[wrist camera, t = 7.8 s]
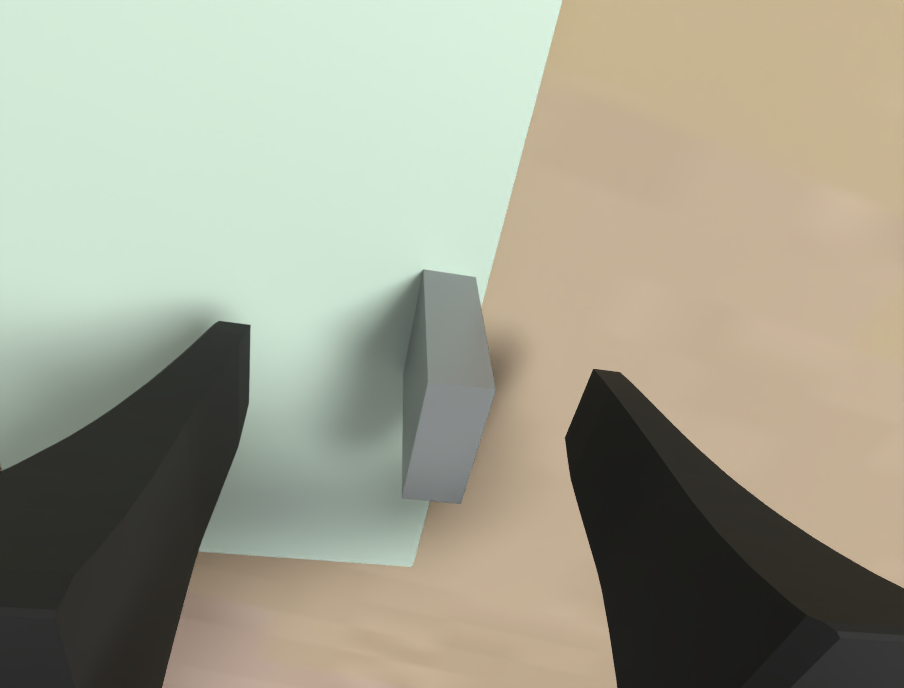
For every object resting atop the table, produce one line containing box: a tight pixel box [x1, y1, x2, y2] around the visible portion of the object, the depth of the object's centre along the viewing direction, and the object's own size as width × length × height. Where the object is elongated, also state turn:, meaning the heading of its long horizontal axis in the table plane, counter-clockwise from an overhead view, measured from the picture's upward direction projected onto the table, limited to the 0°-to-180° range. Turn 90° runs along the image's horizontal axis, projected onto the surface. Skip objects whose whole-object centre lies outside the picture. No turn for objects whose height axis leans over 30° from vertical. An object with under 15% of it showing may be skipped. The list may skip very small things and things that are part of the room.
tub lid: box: [0, 0, 562, 567], centre depth 13 cm, size 19×12×5 cm, turn 168°
